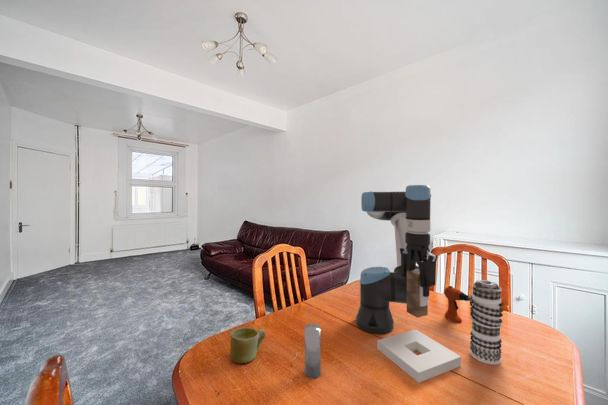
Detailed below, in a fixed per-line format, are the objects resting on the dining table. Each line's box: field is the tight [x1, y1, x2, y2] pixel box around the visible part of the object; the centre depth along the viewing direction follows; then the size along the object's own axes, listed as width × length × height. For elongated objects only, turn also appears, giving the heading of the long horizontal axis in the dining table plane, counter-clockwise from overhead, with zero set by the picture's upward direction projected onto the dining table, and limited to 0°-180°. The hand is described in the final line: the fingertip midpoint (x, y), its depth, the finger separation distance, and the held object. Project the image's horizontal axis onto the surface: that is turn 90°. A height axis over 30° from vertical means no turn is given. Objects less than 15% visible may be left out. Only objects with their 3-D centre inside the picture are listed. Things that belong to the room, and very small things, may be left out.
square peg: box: [406, 269, 429, 318], centre depth 85 cm, size 4×4×14 cm
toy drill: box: [443, 285, 470, 324], centre depth 107 cm, size 5×18×14 cm, turn 8°
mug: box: [229, 327, 266, 364], centre depth 87 cm, size 12×10×10 cm
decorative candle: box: [469, 279, 505, 366], centre depth 85 cm, size 9×9×25 cm
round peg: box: [304, 323, 322, 379], centre depth 78 cm, size 5×5×14 cm
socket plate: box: [376, 329, 462, 383], centre depth 86 cm, size 18×18×3 cm
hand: (417, 302), depth 85 cm, fingers closed on square peg, 4 cm apart
